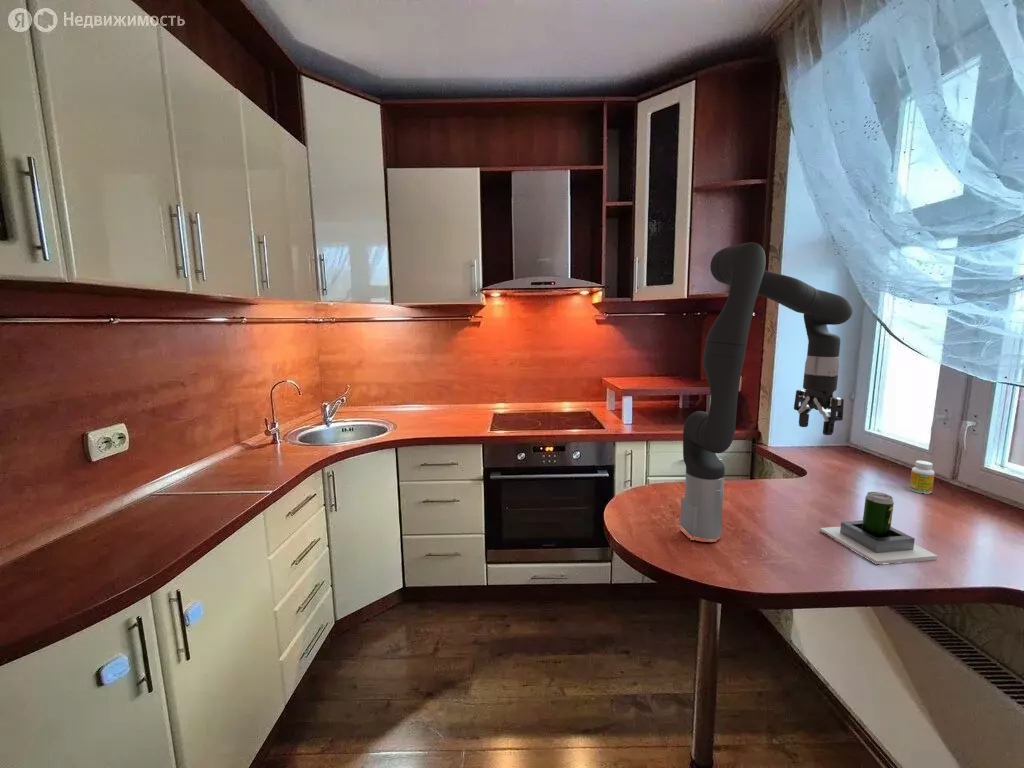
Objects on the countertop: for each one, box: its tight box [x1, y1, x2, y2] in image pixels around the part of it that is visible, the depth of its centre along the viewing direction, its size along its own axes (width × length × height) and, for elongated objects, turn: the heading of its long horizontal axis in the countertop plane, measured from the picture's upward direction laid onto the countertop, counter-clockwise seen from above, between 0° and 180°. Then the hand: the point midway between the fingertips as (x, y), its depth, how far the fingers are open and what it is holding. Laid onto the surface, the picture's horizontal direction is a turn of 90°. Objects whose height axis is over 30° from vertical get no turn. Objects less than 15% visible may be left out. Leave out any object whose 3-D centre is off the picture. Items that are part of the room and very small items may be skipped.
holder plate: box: [819, 525, 939, 564], centre depth 108 cm, size 16×16×1 cm
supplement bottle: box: [908, 460, 935, 495], centre depth 139 cm, size 5×5×10 cm
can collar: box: [840, 519, 915, 553], centre depth 108 cm, size 10×10×3 cm
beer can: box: [862, 491, 895, 538], centre depth 107 cm, size 5×5×12 cm
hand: (815, 430), depth 119 cm, fingers open, 8 cm apart
